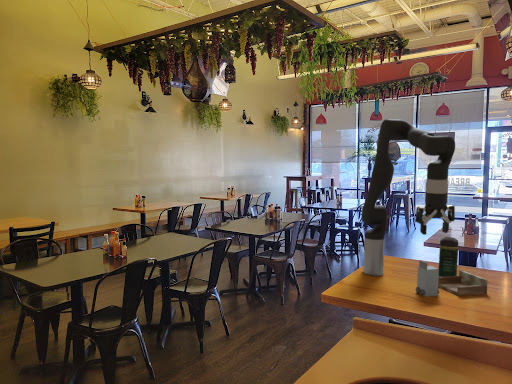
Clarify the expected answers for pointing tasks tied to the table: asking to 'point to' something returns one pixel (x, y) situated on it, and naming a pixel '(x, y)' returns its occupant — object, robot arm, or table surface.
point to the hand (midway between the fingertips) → (434, 233)
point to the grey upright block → (427, 280)
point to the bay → (464, 284)
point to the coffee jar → (448, 257)
